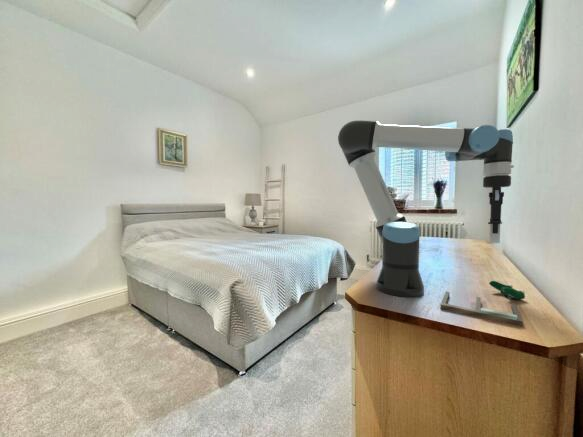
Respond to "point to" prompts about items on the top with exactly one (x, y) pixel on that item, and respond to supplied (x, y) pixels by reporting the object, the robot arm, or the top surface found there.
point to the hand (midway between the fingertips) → (494, 242)
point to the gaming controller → (508, 290)
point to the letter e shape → (485, 312)
